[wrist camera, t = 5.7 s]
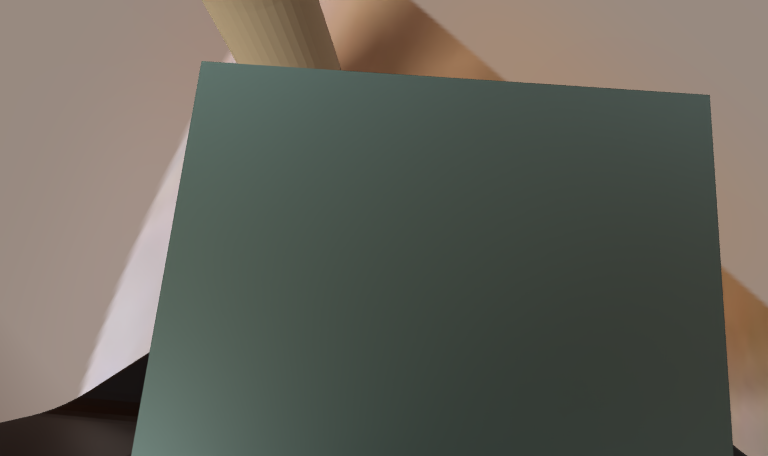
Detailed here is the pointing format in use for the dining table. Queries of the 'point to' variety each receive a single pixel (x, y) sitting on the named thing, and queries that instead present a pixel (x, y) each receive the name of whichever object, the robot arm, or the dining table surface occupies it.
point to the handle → (275, 32)
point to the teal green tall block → (439, 272)
